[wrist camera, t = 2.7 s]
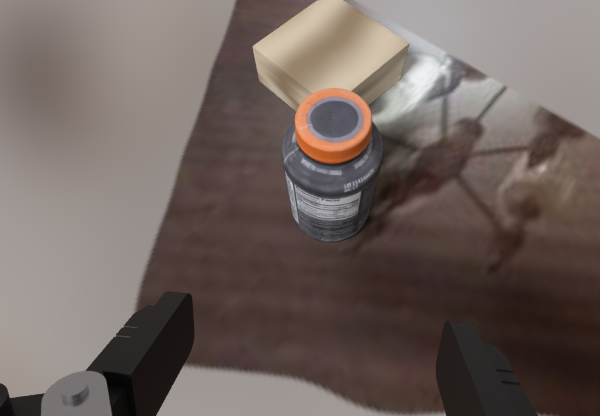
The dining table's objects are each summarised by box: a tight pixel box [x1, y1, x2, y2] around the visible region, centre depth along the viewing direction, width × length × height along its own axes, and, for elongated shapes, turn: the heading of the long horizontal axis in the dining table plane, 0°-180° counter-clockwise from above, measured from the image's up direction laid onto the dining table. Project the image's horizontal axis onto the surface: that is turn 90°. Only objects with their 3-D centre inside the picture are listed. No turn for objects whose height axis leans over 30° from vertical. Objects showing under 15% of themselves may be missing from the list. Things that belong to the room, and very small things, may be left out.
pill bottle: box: [282, 88, 384, 242], centre depth 25 cm, size 6×6×11 cm
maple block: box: [253, 0, 409, 111], centre depth 34 cm, size 9×9×4 cm
